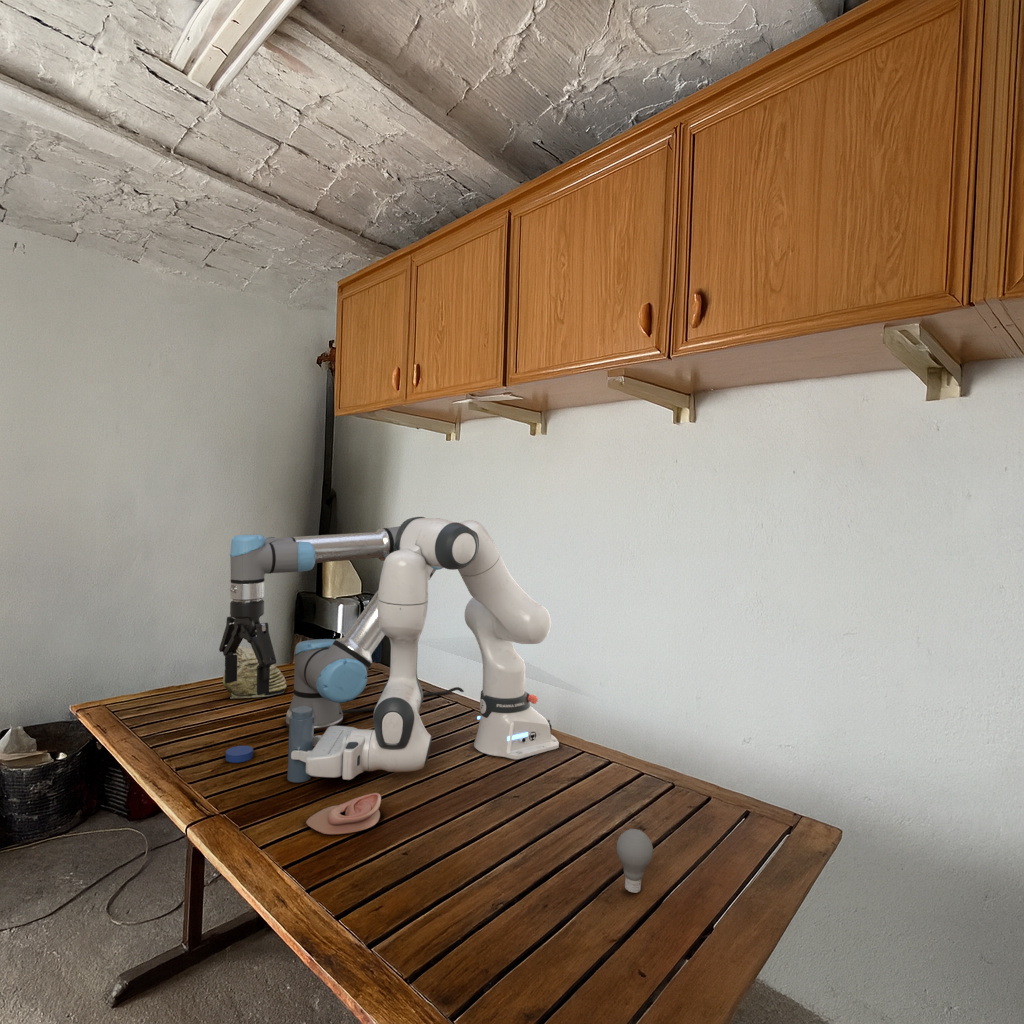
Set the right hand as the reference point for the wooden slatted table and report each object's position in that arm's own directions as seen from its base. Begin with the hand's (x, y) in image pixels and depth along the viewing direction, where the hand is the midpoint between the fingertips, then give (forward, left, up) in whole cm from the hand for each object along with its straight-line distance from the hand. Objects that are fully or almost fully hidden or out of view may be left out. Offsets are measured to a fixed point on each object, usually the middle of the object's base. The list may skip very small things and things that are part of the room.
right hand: (296, 747), depth 142 cm
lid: (+11, -16, -5) cm, 20 cm away
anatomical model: (-6, +23, -7) cm, 25 cm away
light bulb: (-45, +64, -7) cm, 78 cm away
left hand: (+10, -16, +10) cm, 21 cm away
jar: (-1, 0, -7) cm, 7 cm away
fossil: (+3, -64, -7) cm, 64 cm away
